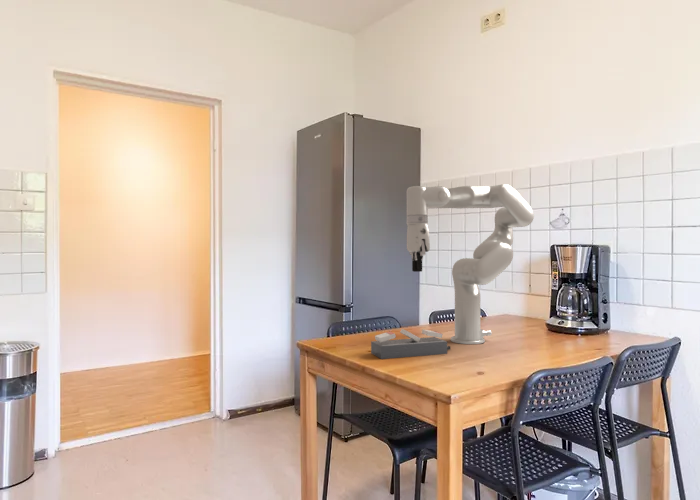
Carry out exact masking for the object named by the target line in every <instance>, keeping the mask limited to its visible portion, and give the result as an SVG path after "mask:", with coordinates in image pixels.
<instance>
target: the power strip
mask: <svg viewBox="0 0 700 500" xmlns="http://www.w3.org/2000/svg"><path fill="white" fill-rule="evenodd" d="M448 350H449V351H450V350H451V346H450V345H448V341H446V340H444V339H442V338H439V337H433V336H427V337H420V340H419V342H417V341H415V340H413V339H411V338H402V339H390V340H387V341H383V342H379V341H377V340H374V341H372V340H371V341H370V354H371V355H374V356H376V357H377V358H378V359H380V360H386V359H398V358H399V359H400V358H411V357H422V356H434V355H447V354H448Z"/></svg>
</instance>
